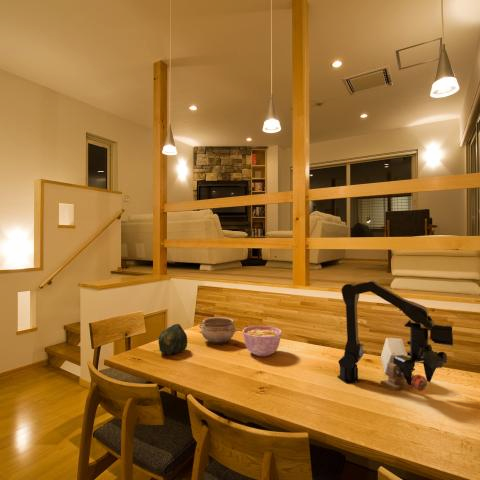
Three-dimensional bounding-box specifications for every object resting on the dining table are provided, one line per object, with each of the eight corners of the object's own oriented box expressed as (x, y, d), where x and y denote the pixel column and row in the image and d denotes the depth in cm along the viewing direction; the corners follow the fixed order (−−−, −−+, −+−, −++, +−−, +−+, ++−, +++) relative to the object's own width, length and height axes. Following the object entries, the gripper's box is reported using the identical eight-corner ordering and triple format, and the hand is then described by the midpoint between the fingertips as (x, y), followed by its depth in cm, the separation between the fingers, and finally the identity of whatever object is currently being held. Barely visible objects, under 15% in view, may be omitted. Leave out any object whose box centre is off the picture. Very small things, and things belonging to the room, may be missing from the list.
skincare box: (399, 375, 130) (408, 357, 119) (383, 374, 131) (390, 356, 121) (395, 356, 136) (402, 337, 126) (379, 355, 137) (385, 337, 127)
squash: (147, 343, 153) (164, 322, 150) (165, 336, 167) (181, 317, 163) (164, 365, 148) (182, 344, 145) (181, 356, 162) (198, 337, 159)
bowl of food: (288, 351, 157) (288, 329, 157) (270, 364, 140) (270, 339, 140) (254, 344, 168) (254, 323, 168) (234, 355, 151) (234, 332, 151)
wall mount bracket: (392, 390, 116) (392, 368, 116) (380, 383, 122) (380, 362, 122) (412, 386, 119) (412, 365, 119) (400, 380, 125) (400, 359, 125)
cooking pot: (244, 340, 175) (244, 319, 176) (231, 350, 158) (231, 327, 158) (206, 335, 185) (207, 314, 185) (190, 344, 168) (190, 322, 168)
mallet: (417, 392, 108) (417, 378, 108) (383, 374, 124) (383, 361, 124) (428, 390, 110) (428, 376, 110) (393, 372, 125) (393, 360, 125)
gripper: (418, 350, 100) (418, 397, 100) (459, 344, 106) (459, 389, 106) (392, 340, 111) (392, 382, 111) (430, 335, 117) (430, 376, 116)
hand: (419, 383), depth 111 cm, fingers open, 9 cm apart
